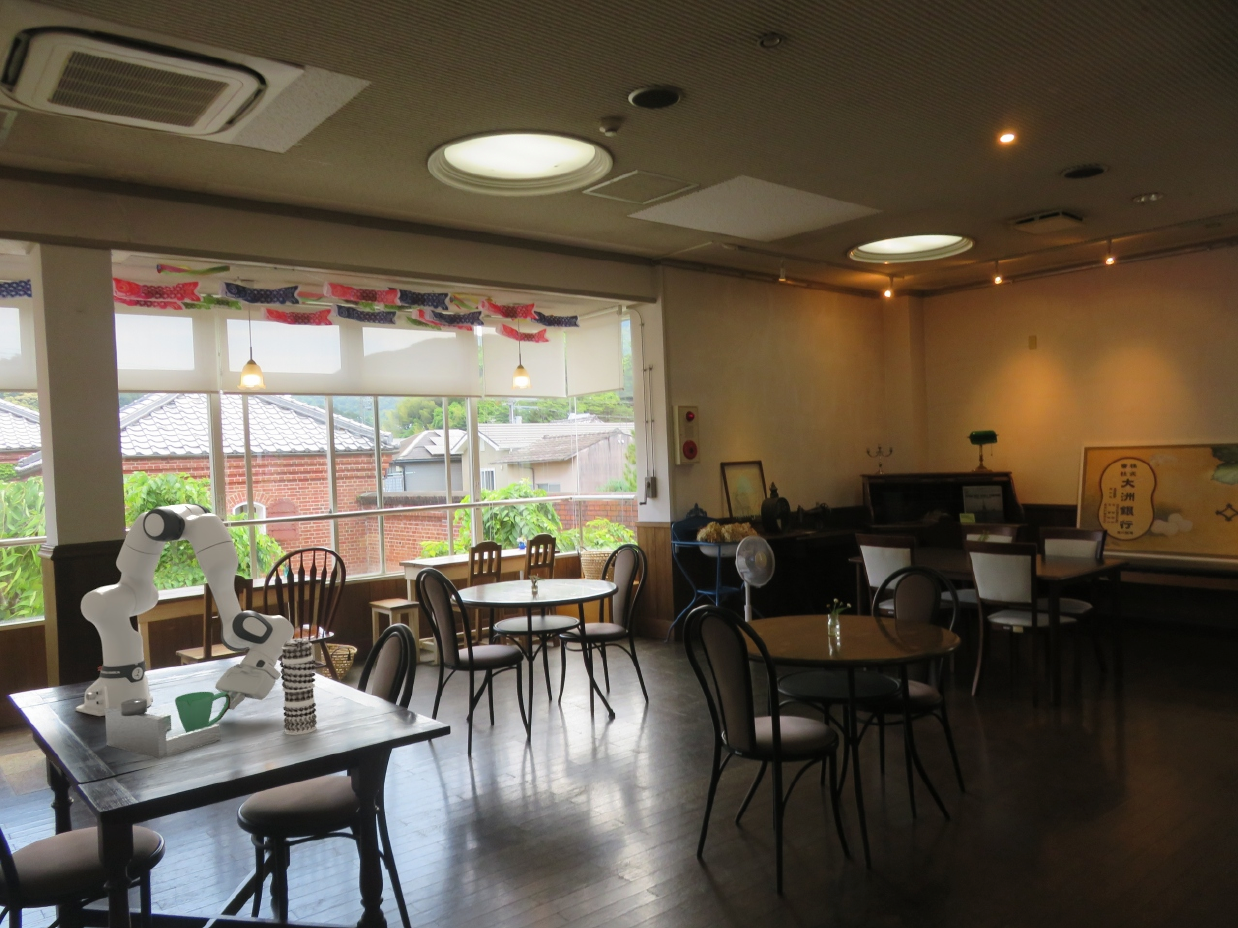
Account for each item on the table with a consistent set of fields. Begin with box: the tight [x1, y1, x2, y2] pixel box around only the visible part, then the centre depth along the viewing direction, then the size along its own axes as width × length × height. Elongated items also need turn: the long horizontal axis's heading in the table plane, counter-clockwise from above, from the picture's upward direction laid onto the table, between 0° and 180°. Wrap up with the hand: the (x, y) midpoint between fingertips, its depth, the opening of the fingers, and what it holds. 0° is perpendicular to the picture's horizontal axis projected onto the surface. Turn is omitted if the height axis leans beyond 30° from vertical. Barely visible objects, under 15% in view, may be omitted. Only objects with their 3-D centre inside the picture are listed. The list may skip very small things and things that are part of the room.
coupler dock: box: [104, 698, 221, 760], centre depth 243 cm, size 19×25×13 cm
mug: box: [174, 691, 231, 733], centre depth 254 cm, size 15×10×10 cm
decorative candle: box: [279, 637, 318, 736], centre depth 250 cm, size 9×9×25 cm
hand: (228, 708), depth 260 cm, fingers closed
